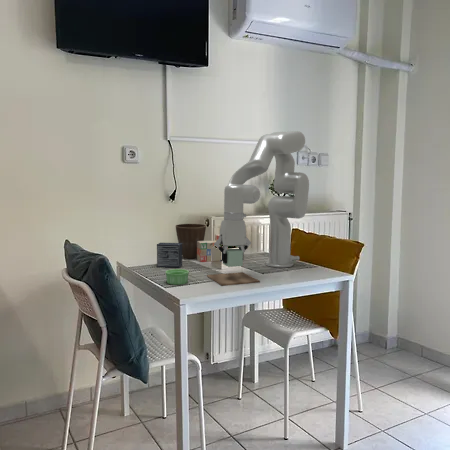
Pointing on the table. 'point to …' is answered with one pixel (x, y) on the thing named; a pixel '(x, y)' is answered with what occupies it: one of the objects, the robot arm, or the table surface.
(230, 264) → the sage cube
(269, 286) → the table surface
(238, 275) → the walnut board
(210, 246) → the stack of blocks
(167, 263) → the small box
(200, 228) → the plant pot
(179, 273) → the ramekin
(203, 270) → the table surface
